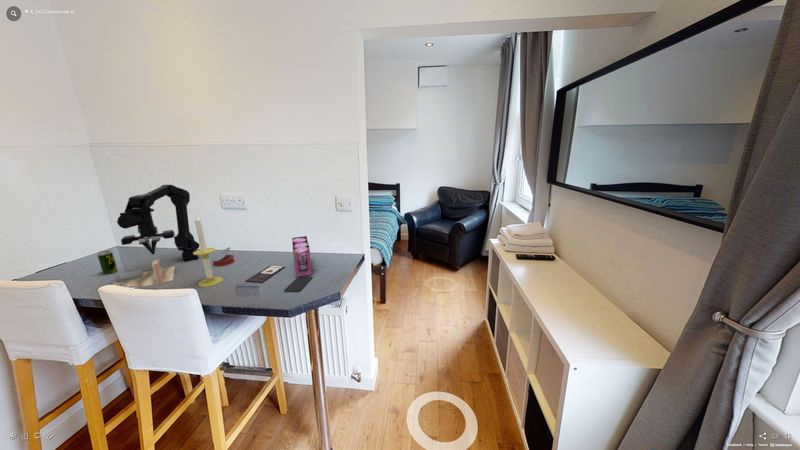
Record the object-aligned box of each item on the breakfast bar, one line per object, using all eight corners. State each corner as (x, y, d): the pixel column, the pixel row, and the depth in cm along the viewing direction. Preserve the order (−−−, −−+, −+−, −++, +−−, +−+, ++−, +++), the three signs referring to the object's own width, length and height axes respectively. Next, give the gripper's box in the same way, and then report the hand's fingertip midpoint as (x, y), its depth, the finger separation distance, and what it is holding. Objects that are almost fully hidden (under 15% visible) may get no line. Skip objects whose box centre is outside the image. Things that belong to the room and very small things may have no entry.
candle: (207, 277, 140) (193, 212, 131) (227, 277, 139) (214, 211, 131) (192, 287, 130) (176, 217, 121) (214, 286, 129) (199, 216, 121)
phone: (313, 276, 137) (299, 291, 122) (313, 278, 137) (299, 293, 122) (298, 276, 137) (282, 290, 123) (298, 277, 138) (283, 292, 123)
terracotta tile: (163, 275, 142) (159, 258, 139) (161, 281, 135) (157, 263, 133) (158, 276, 141) (154, 259, 138) (156, 282, 134) (152, 264, 132)
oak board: (175, 266, 154) (175, 266, 154) (172, 280, 137) (172, 280, 137) (117, 278, 141) (117, 277, 141) (106, 295, 124) (106, 294, 124)
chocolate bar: (245, 280, 134) (269, 265, 150) (245, 282, 134) (270, 267, 151) (262, 282, 132) (285, 266, 149) (262, 284, 132) (285, 268, 149)
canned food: (230, 272, 156) (224, 260, 149) (212, 271, 156) (205, 259, 149) (240, 256, 164) (234, 245, 157) (223, 255, 164) (216, 243, 157)
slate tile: (142, 269, 145) (118, 274, 140) (139, 275, 139) (114, 280, 134) (143, 273, 146) (119, 277, 141) (140, 278, 139) (115, 283, 134)
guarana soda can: (100, 276, 144) (93, 254, 141) (108, 272, 149) (101, 250, 146) (113, 275, 145) (106, 252, 142) (120, 270, 150) (114, 249, 147)
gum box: (313, 275, 138) (310, 249, 135) (295, 278, 136) (292, 251, 132) (309, 259, 160) (307, 235, 156) (294, 261, 157) (291, 237, 154)
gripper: (172, 216, 146) (179, 245, 150) (123, 222, 136) (132, 253, 140) (169, 221, 136) (176, 251, 140) (116, 227, 127) (126, 260, 131)
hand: (153, 254), depth 138 cm, fingers closed
